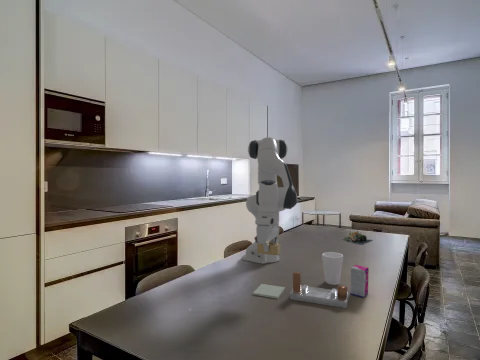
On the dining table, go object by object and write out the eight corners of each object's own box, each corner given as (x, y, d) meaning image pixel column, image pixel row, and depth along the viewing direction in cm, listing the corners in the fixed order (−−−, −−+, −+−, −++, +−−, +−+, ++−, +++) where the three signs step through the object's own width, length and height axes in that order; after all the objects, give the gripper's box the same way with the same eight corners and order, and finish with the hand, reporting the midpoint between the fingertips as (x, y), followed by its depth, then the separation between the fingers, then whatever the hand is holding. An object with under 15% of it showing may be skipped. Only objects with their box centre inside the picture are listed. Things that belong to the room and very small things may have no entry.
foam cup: (336, 278, 146) (336, 251, 145) (347, 284, 137) (347, 256, 136) (318, 279, 144) (318, 252, 143) (328, 286, 135) (328, 258, 134)
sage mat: (252, 294, 127) (252, 292, 127) (261, 285, 137) (261, 283, 137) (278, 298, 122) (278, 296, 122) (284, 289, 132) (284, 287, 132)
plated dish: (347, 234, 252) (347, 225, 251) (382, 239, 233) (382, 230, 232) (327, 242, 226) (327, 232, 226) (365, 248, 207) (365, 238, 207)
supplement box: (364, 298, 122) (364, 270, 122) (349, 294, 126) (349, 267, 126) (368, 293, 126) (368, 266, 126) (354, 290, 130) (354, 264, 130)
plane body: (289, 299, 122) (289, 275, 122) (295, 290, 131) (295, 268, 131) (346, 308, 113) (346, 283, 113) (348, 298, 122) (348, 275, 122)
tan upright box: (257, 253, 129) (257, 244, 128) (261, 250, 133) (261, 241, 133) (277, 255, 125) (277, 245, 125) (280, 252, 130) (280, 243, 130)
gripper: (269, 214, 140) (269, 243, 140) (253, 220, 121) (254, 254, 121) (282, 215, 137) (282, 245, 137) (268, 221, 118) (268, 256, 119)
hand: (269, 249), depth 129 cm, fingers closed on tan upright box, 5 cm apart
